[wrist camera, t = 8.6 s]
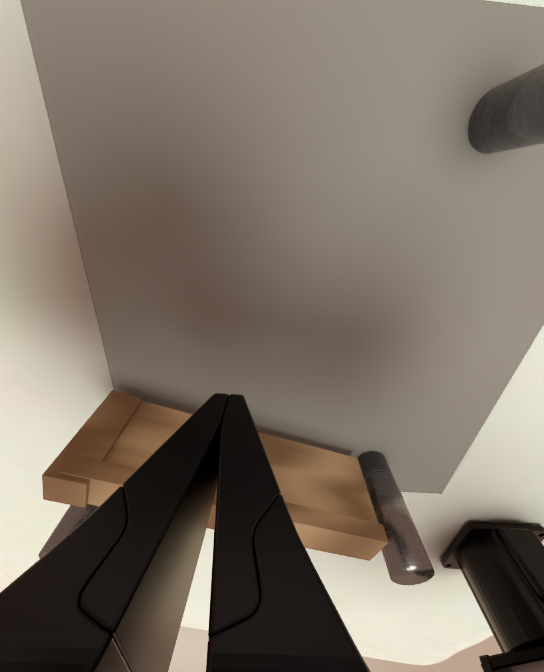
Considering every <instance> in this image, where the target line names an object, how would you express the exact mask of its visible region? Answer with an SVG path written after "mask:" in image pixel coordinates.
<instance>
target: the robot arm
mask: <svg viewBox="0 0 544 672" xmlns="http://www.w3.org/2000/svg"><path fill="white" fill-rule="evenodd" d="M216 490H217V497H216V514H215V531H214V548H213V565H212V582H211V599H210V616H209V633H208V635H209V641H208V650H207V666H206V672H370V670H369V668H368V667H367V665H366V663H365V662H364V660H363V658H362V656H361V654H360V653H359V651H358V649H357V647H356V645H355V644H354V642H353V640H352V638H351V636H350V634H349V632H348V630H347V628H346V626H345V625H344V623H343V621H342V619H341V617H340V615H339V613H338V611H337V609H336V607H335V605H334V604H333V602H332V600H331V598H330V596H329V594H328V592H327V590H326V588H325V586H324V585H323V583H322V581H321V579H320V577H319V575H318V573H317V571H316V569H315V567H314V565H313V564H312V562H311V559H310V557H309V555H308V553H307V551H306V549H305V547H304V545H303V543H302V541H301V539H300V537H299V535H298V533H297V530H296V528H295V525H294V523H293V521H292V518H291V516H290V514H289V511H288V509H287V506H286V504H285V501H284V498H283V496H282V495H281V491H280V488H279V486H278V483H277V481H276V478H275V475H274V473H273V470H272V468H271V465H270V462H269V460H268V457H267V455H266V452H265V449H264V447H263V444H262V442H261V439H260V436H259V434H258V431H257V429H256V426H255V423H254V421H253V418H252V416H251V413H250V410H249V408H248V405H247V403H246V400H245V397H244V396H243V395H241V394H230V395H228V394H226V393H215V394H213V395H212V396H211V397H210V398H209V399H208V400H207V401H206V402H205V403H204V404H203V405H202V406H201V407H200V408H199V409H198V410H197V411H196V412H195V413H194V414H193V415H192V416H191V417H190V418H189V419H188V420H187V421H186V422H185V423H184V424H183V425H182V426H181V427H180V428H179V429H178V430H177V431H176V432H175V433H174V434H173V435H172V436H171V437H170V438H168V439H167V440H166V441H165V442H164V443H163V444H162V445H161V446H160V447H159V448H158V449H157V450H156V451H155V452H154V453H153V454H152V455H151V456H150V457H149V458H148V459H147V460H146V461H145V462H144V463H143V464H142V465H141V466H140V467H139V468H138V469H137V470H136V471H135V472H134V473H133V474H132V475H131V476H130V477H129V478H128V479H127V480H126V481H125V482H124V483H123V487H122V486H120V487H119V488H118V489H117V490H116V491H115V492H114V493H113V494H112V495H110V496H109V497H108V498H107V499H106V500H105V501H104V502H103V503H102V504H101V505H100V506H99V507H98V508H97V509H96V510H95V511H94V512H93V513H92V514H91V515H90V516H88V517H87V518H86V519H85V520H84V521H83V522H82V523H81V524H80V525H79V526H78V527H77V528H75V529H74V530H73V531H72V532H71V533H70V534H69V535H67V536H66V537H65V538H64V539H63V540H62V541H61V542H59V543H58V544H57V545H56V546H55V547H54V548H53V549H51V550H50V551H49V552H48V553H47V554H46V555H44V556H43V557H42V558H41V559H40V560H38V561H37V562H36V563H35V564H34V565H33V566H31V567H30V568H29V569H28V570H27V571H25V572H24V573H23V574H22V575H21V576H20V577H18V578H17V579H16V580H15V581H14V582H12V583H11V584H10V585H9V586H8V587H7V588H5V589H4V590H3V591H2V592H1V593H0V672H168V669H169V666H170V661H171V658H172V654H173V650H174V647H175V643H176V640H177V636H178V632H179V628H180V625H181V621H182V617H183V613H184V610H185V606H186V602H187V598H188V595H189V591H190V587H191V584H192V580H193V576H194V572H195V569H196V565H197V561H198V557H199V554H200V550H201V546H202V542H203V539H204V535H205V531H206V528H207V524H208V520H209V516H210V513H211V509H212V505H213V501H214V498H215V494H216ZM543 539H544V527H542V526H528V525H509V524H490V523H470V524H467V525H466V526H465V528H464V529H463V530H462V532H461V533H460V535H459V536H458V537H457V539H456V540H455V541H454V543H453V544H452V545H451V547H450V548H449V549H448V551H447V552H446V554H445V555H444V556H443V558H442V559H441V563H442V565H443V567H444V568H454V569H461V571H462V573H463V575H464V577H465V579H466V581H467V583H468V585H469V587H470V589H471V591H472V593H473V595H474V597H475V599H476V601H477V603H478V605H479V607H480V609H481V611H482V613H483V615H484V617H485V619H486V621H487V623H488V625H489V627H490V629H491V631H492V633H493V635H494V637H495V639H496V641H497V643H498V645H499V646H500V649H501V650H502V653H501V654H496V655H492V656H489V655H483V656H480V661H481V663H482V664H481V666H482V668H483V671H484V672H544V546H543V545H542V543H541V541H542V540H543Z"/></svg>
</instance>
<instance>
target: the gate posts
mask: <svg viewBox="0 0 544 672" xmlns="http://www.w3.org/2000/svg"><path fill="white" fill-rule="evenodd" d="M468 139H469V142H470V144H471V146H472V147H473V148H474V149H475V150H476V151H477V152H479V153H483V154H491V153H497V152H502V151H507V150H512V149H518V148H523V147H528V146H533V145H538V144H544V63H543V64H541V65H539V66H537V67H535V68H533V69H531V70H529V71H527V72H525V73H523V74H521V75H519V76H517V77H515V78H513V79H511V80H509V81H507V82H504V83H502V84H500V85H498V86H496V87H494V88H493V89H491V90H490V91H488V92H487V93H486V94H485V95H484V96H483V97H482V98H481V99H480V100H479V102H478V103H477V104H476V106H475V108H474V110H473V112H472V114H471V116H470V119H469V123H468ZM357 458H358V462H359V465H360V468H361V471H362V474H363V477H364V480H365V484H366V487H367V490H368V493H369V496H370V499H371V502H372V505H373V509H374V512H375V515H376V518H377V521H378V523H380V524H383V527H384V530H385V533H386V536H387V539H388V542H389V543H388V544H387V545H386V546H385V547H384V548H382V552H383V556H384V559H385V562H386V565H387V569H388V572H389V575H390V578H391V580H392V581H393V582H394V583H397V584H401V585H415V584H420V583H423V582H425V581H428V580H429V579H431V578H432V577H433V575H434V570H433V567H432V565H431V563H430V560H429V558H428V556H427V553H426V551H425V549H424V546H423V544H422V542H421V539H420V537H419V535H418V532H417V530H416V528H415V525H414V523H413V521H412V518H411V516H410V514H409V511H408V509H407V507H406V504H405V502H404V500H403V497H402V495H401V493H400V490H399V488H398V485H397V483H396V481H395V478H394V476H393V474H392V471H391V469H390V467H389V464H388V462H387V460H386V457H385V456H384V454H382V453H381V452H378V451H368V452H365V453H363V454H361V455H359V456H358V457H357ZM98 507H99V506H95V505H90V504H87V505H86V507H85V508H84V507H79V506H74V505H71V506H70V507H69V509H68V510H67V512H66V513H65V515H64V516H63V518H62V519H61V521H60V522H59V524H58V525H57V527H56V528H55V530H54V532H53V533H52V535H51V536H50V538H49V539H48V541H47V542H46V544H45V545H44V547H43V548H42V550H41V551H40V553H39V558H40V559H41V558H42V557H43V556H44V555H46V554H47V553H48V552H49V551H50V550H51V549H53V548H54V547H55V546H56V545H57V544H58V543H59V542H61V541H62V540H63V539H64V538H65V537H66V536H67V535H69V534H70V533H71V532H72V531H73V530H74V529H75V528H77V527H78V526H79V525H80V524H81V523H82V522H83V521H84V520H85V519H86V518H87V517H88V516H90V515H91V514H92V513H93V512H94V511H95V510H96V509H97V508H98Z"/></svg>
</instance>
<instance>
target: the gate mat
mask: <svg viewBox="0 0 544 672" xmlns="http://www.w3.org/2000/svg"><path fill="white" fill-rule="evenodd" d="M20 1H21V5H22V9H23V13H24V17H25V21H26V25H27V30H28V34H29V38H30V42H31V46H32V50H33V55H34V59H35V63H36V67H37V71H38V75H39V80H40V84H41V88H42V92H43V96H44V100H45V104H46V109H47V113H48V117H49V121H50V125H51V129H52V134H53V138H54V142H55V146H56V150H57V154H58V159H59V163H60V167H61V171H62V175H63V179H64V183H65V188H66V192H67V196H68V200H69V204H70V208H71V213H72V217H73V221H74V225H75V229H76V233H77V237H78V242H79V246H80V250H81V254H82V258H83V262H84V267H85V271H86V275H87V279H88V283H89V287H90V292H91V296H92V300H93V304H94V308H95V312H96V316H97V321H98V325H99V329H100V333H101V337H102V341H103V346H104V350H105V354H106V358H107V362H108V366H109V371H110V375H111V379H112V383H113V387H114V391H117V392H121V393H125V394H129V395H132V396H136V397H140V398H142V401H144V402H148V403H152V404H156V405H159V406H163V407H167V408H171V409H175V410H178V411H182V412H186V413H190V414H194V413H195V412H196V411H197V410H198V409H199V408H200V407H201V406H202V405H203V404H204V403H205V402H206V401H207V400H208V399H209V398H210V397H211V396H212V395H213V394H215V393H226V394H228V395H230V394H241V395H243V396H244V397H245V400H246V403H247V405H248V408H249V410H250V413H251V416H252V418H253V421H254V423H255V426H256V429H257V431H258V432H261V433H265V434H269V435H272V436H276V437H280V438H284V439H288V440H291V441H295V442H299V443H303V444H306V445H310V446H314V447H318V448H321V449H325V450H329V451H333V452H336V453H340V454H344V455H348V456H352V457H355V458H357V457H358V456H359V455H361V454H363V453H365V452H368V451H378V452H381V453H382V454H384V456H385V457H386V460H387V462H388V464H389V467H390V469H391V471H392V474H393V476H394V478H395V481H396V483H397V485H398V488H399V490H400V491H402V492H421V493H439V494H442V492H443V490H444V489H445V487H446V485H447V484H448V482H449V480H450V479H451V477H452V475H453V474H454V472H455V470H456V469H457V467H458V466H459V464H460V462H461V461H462V459H463V457H464V456H465V454H466V452H467V451H468V449H469V447H470V446H471V444H472V442H473V441H474V439H475V437H476V436H477V434H478V432H479V431H480V429H481V427H482V426H483V424H484V422H485V421H486V419H487V417H488V416H489V414H490V412H491V411H492V409H493V407H494V406H495V404H496V403H497V401H498V399H499V398H500V396H501V394H502V393H503V391H504V389H505V388H506V386H507V384H508V383H509V381H510V379H511V378H512V376H513V374H514V373H515V371H516V369H517V368H518V366H519V364H520V363H521V361H522V359H523V358H524V356H525V354H526V353H527V351H528V349H529V348H530V346H531V345H532V343H533V341H534V340H535V338H536V336H537V335H538V333H539V331H540V330H541V328H542V326H543V325H544V144H538V145H533V146H528V147H523V148H518V149H512V150H507V151H502V152H497V153H491V154H483V153H479V152H477V151H476V150H475V149H474V148H473V147H472V146H471V144H470V142H469V139H468V123H469V119H470V116H471V114H472V112H473V110H474V108H475V106H476V104H477V103H478V102H479V100H480V99H481V98H482V97H483V96H484V95H485V94H486V93H487V92H488V91H490V90H491V89H493V88H494V87H496V86H498V85H500V84H502V83H504V82H507V81H509V80H511V79H513V78H515V77H517V76H519V75H521V74H523V73H525V72H527V71H529V70H531V69H533V68H535V67H537V66H539V65H541V64H543V63H544V7H535V6H527V5H518V4H510V3H501V2H493V1H484V0H20Z"/></svg>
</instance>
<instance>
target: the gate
mask: <svg viewBox="0 0 544 672" xmlns="http://www.w3.org/2000/svg"><path fill="white" fill-rule="evenodd" d="M192 415H193V414H190V413H186V412H182V411H178V410H175V409H171V408H167V407H163V406H159V405H156V404H152V403H148V402H144V401H142V398H140V397H136V396H132V395H129V394H125V393H121V392H117V391H114V390H112V391H111V393H110V394H109V395H108V396H107V397H106V399H105V400H104V401H103V402H102V404H101V405H100V406H99V407H98V408H97V410H96V411H95V412H94V413H93V414H92V416H91V417H90V418H89V419H88V420H87V422H86V423H85V424H84V425H83V427H82V428H81V429H80V430H79V431H78V433H77V434H76V435H75V436H74V437H73V439H72V440H71V441H70V442H69V443H68V445H67V446H66V447H65V448H64V450H63V451H62V452H61V453H60V454H59V456H58V457H57V458H56V459H55V460H54V462H53V463H52V464H51V465H50V466H49V468H48V469H47V470H46V471H45V473H44V474H43V475H42V480H43V499H44V500H49V501H54V502H59V503H64V504H69V505H74V506H79V507H84V508H85V507H86V505H87V504H90V505H95V506H100V505H101V504H102V503H103V502H104V501H105V500H106V499H107V498H108V497H109V496H110V495H112V494H113V493H114V492H115V491H116V490H117V489H118V488H119V487H120V486H122V487H123V483H124V482H125V481H126V480H127V479H128V478H129V477H130V476H131V475H132V474H133V473H134V472H135V471H136V470H137V469H138V468H139V467H140V466H141V465H142V464H143V463H144V462H145V461H146V460H147V459H148V458H149V457H150V456H151V455H152V454H153V453H154V452H155V451H156V450H157V449H158V448H159V447H160V446H161V445H162V444H163V443H164V442H165V441H166V440H167V439H168V438H170V437H171V436H172V435H173V434H174V433H175V432H176V431H177V430H178V429H179V428H180V427H181V426H182V425H183V424H184V423H185V422H186V421H187V420H188V419H189V418H190V417H191V416H192ZM258 434H259V436H260V439H261V442H262V444H263V447H264V449H265V452H266V455H267V457H268V460H269V462H270V465H271V468H272V470H273V473H274V475H275V478H276V481H277V483H278V486H279V488H280V491H281V495H282V496H283V498H284V501H285V504H286V506H287V509H288V511H289V514H290V516H291V518H292V521H293V523H294V525H295V528H296V530H297V533H298V535H299V537H300V539H301V541H302V543H303V545H304V547H305V548H309V549H314V550H319V551H324V552H329V553H334V554H339V555H344V556H349V557H354V558H359V559H364V560H369V561H370V560H371V559H372V558H373V557H374V556H375V555H376V554H377V553H378V552H379V551H380V550H381V549H382V548H384V547H385V546H386V545H387V544H388V543H389V542H388V539H387V536H386V533H385V530H384V527H383V524H380V523H378V521H377V518H376V515H375V512H374V509H373V505H372V502H371V499H370V496H369V493H368V490H367V487H366V484H365V480H364V477H363V474H362V471H361V468H360V465H359V462H358V458H355V457H352V456H348V455H344V454H340V453H336V452H333V451H329V450H325V449H321V448H318V447H314V446H310V445H306V444H303V443H299V442H295V441H291V440H288V439H284V438H280V437H276V436H272V435H269V434H265V433H261V432H258ZM216 497H217V490H216V494H215V498H214V501H213V505H212V509H211V513H210V516H209V520H208V524H207V528H210V529H215V514H216Z"/></svg>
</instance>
